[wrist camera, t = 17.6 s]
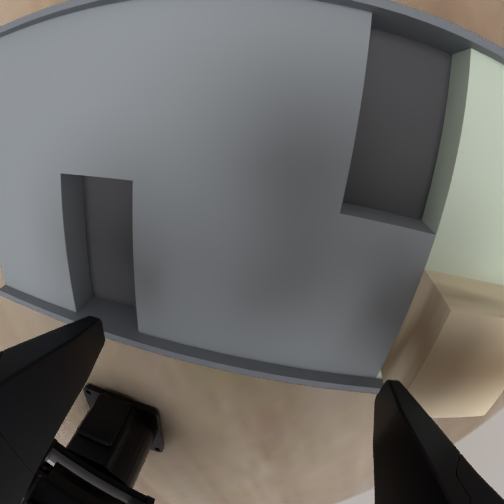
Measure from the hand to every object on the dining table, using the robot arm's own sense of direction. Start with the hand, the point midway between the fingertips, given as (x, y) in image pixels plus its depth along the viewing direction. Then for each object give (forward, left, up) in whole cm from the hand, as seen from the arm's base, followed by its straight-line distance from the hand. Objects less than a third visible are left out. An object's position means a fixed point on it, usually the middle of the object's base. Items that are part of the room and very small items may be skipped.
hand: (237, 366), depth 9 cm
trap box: (+4, +2, -6) cm, 8 cm away
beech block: (0, -9, -4) cm, 10 cm away
